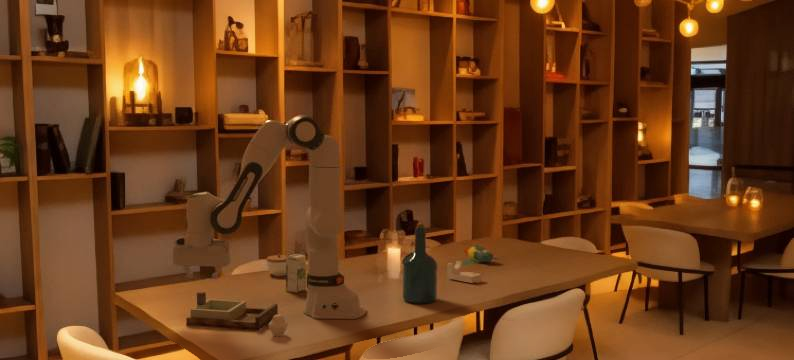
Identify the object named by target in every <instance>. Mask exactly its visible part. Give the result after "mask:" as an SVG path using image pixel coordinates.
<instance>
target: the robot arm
mask: <svg viewBox="0 0 794 360" xmlns="http://www.w3.org/2000/svg"><path fill="white" fill-rule="evenodd" d="M288 145H294V146H297V147H299V148H305V149H307V151H308V155H309V163H308V164H309V165H308V166H309V168H308V172H309V173H308V191H309V199H310V200H309V201H310V206H309V207H308V209H307V210H306V211H305V212H306V213H305V234H306V244H307V259H308V260H307V272H306V273H307V274H306V289H307V292H306V293H307V294H306V301H305V305H304V308H303V313H304V314H305V315H308V316H310V317H312V318H313V319H327V320H328V319H329V320H330V319H331V320H332V319H335V320H336V319H338V320H340V319H343V320H345V319H346V320H349V319H350V320H355V319H359V318H361V317H363V316H364V315H365V314H366V313H367V308H366V307H365V306H364V305H361V303H360V302H361V301H360V298H359V294H358V293H357V292H356V291H354V290H353V289H351V287H349V286H348V285H347V284H346V283H345V278H346V277H345V276H346V275H345V274H343V275H342V274H341V273H340V271H339V269H340V266H339V265H340V259H339V258H340V256H339V255H340V252H339V251H340V250H339V246H338V238H337V237H338V235H339V234H340V233H341V231H342V229H343V225H344V224H343V223H344V222H343V212H342V211H343V210H342V208H343V207H342V197H341V152H340V145H339V141H338V139H336V137H334V136H332V135H328V134H324V131H323V130H322V128H321V127H320V125H319V123H318V122H317V121H316V120H315V119H314V118H313V117H311V116H308V115H303V114H301V115H297V116H294V117H292V118H290V119H289V120H286V121H285V122H284V123H282V122H280V121H278V120H274V119H268V120H266V121H265V122H264V123H263V124H262V125H260V128H258V130H257V131H256V132H255V134H254V135H253V136H252V138H251V140H250V141H249V143H248V145H247V147H246V149H245V150H244V154H243V156H242V160H241V166H240V173H239V175H238V179H237V180H236V182H235V184H234V185H233V187H232V189H231V190H230V192H229V195H228V196H227V198H226V199H223V198H220V197H218V196H215V195H214V194H212V193H210V192H209V191H202V192H195V193H193V194H191V195H190V196H189V197H188V198H187V201H186V209H185V210H186V211H185V212H186V214H185V215H186V222H187V230H186V231H187V234H185V235H181V236H180V237H178V238H175V239H174V240H173V244H174V245H175V246H174V247H173V249H172V262H173V264H174V266H183V267H182V268H183V270H184V272H185V273H186V278H187V279H193V278H194V272H191V269H190V268H191V267H214V270H215V271H214V273H212V274H211V278H212V280H218V279H219V273H220V271H221V269H222V268H223V267H224V268H225V267H228V266H229V265H230V264H231V262H232V261H231V260H232V259H231V253H230V243H229V242H228V241H227V240H226V239H216V238H215V234H214V233H215V232H217V233H218V234H221V235H231V234H233V233H235V232H236V231H238V229H239V228H240V226H241V224H242V219H243V217H242V216H243V210H244V208H245V206H246V204H247V202H248V200H249V199H250V197H251V195H252V193H253V191H254V190H255V188H256V186H257V185H258V184H259V183H260V181H261V180H262V179H263V178H264V177H265V175H266V174H268V172H269V171H271V168H272V167H274V165H275V163H276V162H277V160H278V158H279V156H280V155H281V153H282V152H283V150H284V149H285V147H287V146H288Z"/></svg>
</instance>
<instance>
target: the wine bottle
mask: <svg viewBox="0 0 794 360" xmlns="http://www.w3.org/2000/svg"><path fill="white" fill-rule="evenodd" d="M426 232H427V231H426V226H425V223H423V222H420V223H417V224H416V226H415V230H414V251H411V252H410V253H408V254H407V255H405V257H404V258H403V259H402V262H401V263H402V298H403V301H404V302H407V303H410V304H417V305H425V304H426V305H427V304H432V303H434V302H435V301H436V300H437V299H438V298H437V294H438V293H437V291H438V263H437V261H436V259H435V258H434V257H433V256H431V255H430V254H428V253H427V249H426V248H427V247H426V244H427V243H426V242H427V241H426V238H427V237H426V236H427V233H426Z"/></svg>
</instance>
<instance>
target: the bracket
mask: <svg viewBox="0 0 794 360" xmlns="http://www.w3.org/2000/svg"><path fill="white" fill-rule="evenodd" d="M455 261H456V262H455V263H456V264H455V265H454V263H452V262H451V263H450V262H448V263H447V265H446V266H447V267H446V268H447V271H446V272H447V273H446V278H447V279H450V280H453V281H454V280H455V281H460V282H465V283H468V284H469V283H470V284H473V283H474V284H478V283H482V273H478V272H477V273H476V272H471V271H466V270H463V265H462V262H461V261H460V260H455Z"/></svg>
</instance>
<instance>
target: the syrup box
mask: <svg viewBox="0 0 794 360" xmlns="http://www.w3.org/2000/svg"><path fill="white" fill-rule="evenodd" d="M286 256H287V257H286V275H285V291H286V292H289V293H297V294H298V293H301V292H303V291H306V285H307V274H306V273H307V271H306V270H307V265H306V264H307V263H306V262H307V256H306V255H304V254H301V253H294V254H291V255H286Z"/></svg>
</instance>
